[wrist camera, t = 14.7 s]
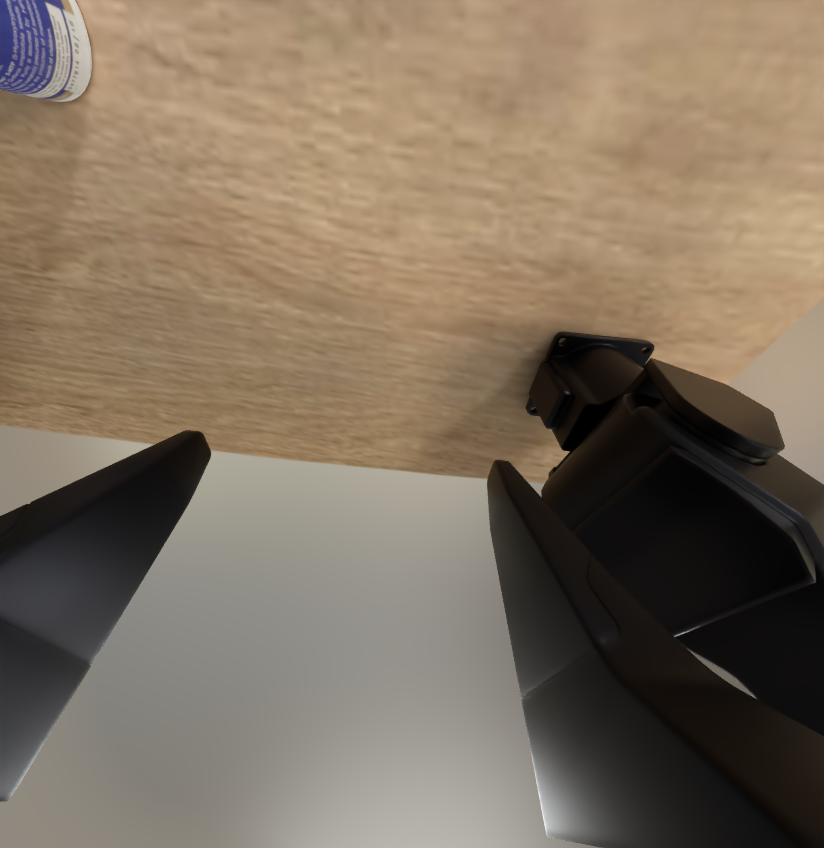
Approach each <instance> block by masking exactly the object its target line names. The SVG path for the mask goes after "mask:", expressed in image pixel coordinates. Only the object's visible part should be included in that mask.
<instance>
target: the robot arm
mask: <svg viewBox="0 0 824 848" xmlns="http://www.w3.org/2000/svg"><path fill="white" fill-rule="evenodd" d="M562 338H565V340H564V341H563V342H562V343H559V341H560V339H562ZM645 347H646V349H645V350H644V351H642V349H643V348H645ZM653 350H654V345H653V344H652V343H650V342H649V341H645V340H635V339H626V338H617V337H607V336H598V335H589V334H580V333H570V332H560V333H558V334H556V335H555V337H554V338H553V341H552V343H551V346H550V348H549V351H548V353H547V356H546V358H545V361H543V362H542V363H541V364H540V366H539V368H538V371H537V374H536V376H535V379H534V381H533V384H532V386H531V389H530V391H529V394H530V398H529V401H528V403H527V406H526V410H527V413H528V414H529V415H534V416H540V417H541V419H542V421H543V423H544V425H545V427H546V428H547V429H552V431H553V433H554V435H555V437H556V439H557V441H558V443H559V445H560V447H561V448H562V450H564V451H570V452H569V453H568V455H567V456H566V457H565V458H564V459H563V460H562V461H561V462H560V464H559V465H558V466H557V467H554V468H553V469H552V470H551V471H550V472H549V479H548V480H547V481H546V483H545V484H544V486H543V489H542V490H541V492H542V498H541V497H540V496H539V494H538V493H537V492H536V491H535V490H534V489H533V488H532V487H531V486H530V484H529V483H528V482H527V481H526V480H525V479H524V478H523V477H522V476H521V474H520V473H519V472H518V471H517V470H516V469H515V468H514V467H513V466H512V464H511V463H510V462H508V461H503V460H495V461H494V463H493V465H492V468H491V470H490V473H489V476H488V480H487V489H488V504H489V518H490V519H489V520H490V531H491V537H492V542H493V548H494V553H495V559H496V564H497V569H498V575H499V580H500V586H501V591H502V596H503V602H504V607H505V613H506V618H507V623H508V629H509V634H510V639H511V645H512V650H513V656H514V661H515V667H516V672H517V678H518V683H519V688H520V694H521V697H522V705H523V711H524V716H525V722H526V727H527V733H528V738H529V743H530V748H531V754H532V760H533V765H534V770H535V776H536V781H537V787H538V792H539V798H540V803H541V808H542V814H543V819H544V824H545V829H546V833H547V836H548V837H550V838H555V839H561V840H565V841H571V842H576V843H581V844H586V845H591V846H597V847H603V848H824V485H823V484H822V483H820V482H819V481H817V480H816V479H814V478H813V477H811V476H810V475H808V474H807V473H805V472H804V471H802V470H801V469H799V468H798V467H796V466H794V465H793V464H792V463H790V462H789V461H787V460H786V459H784V458H783V457H781V456H780V455H778V454H777V453H779V452H780V451H782V450H783V449H784V447H785V445H784V442H783V439H782V437H781V434H780V431H779V428H778V425H777V422H776V419H775V416H774V413H773V412H772V411H771V410H769V409H768V408H766V407H764V406H762V405H761V404H759V403H757V402H756V401H754V400H752V399H751V398H749V397H747V396H745V395H744V394H742V393H740V392H739V391H737V390H735V389H733V388H732V387H730V386H728V385H726V384H723V383H721V382H718V381H715V380H712V379H709V378H707V377H704V376H701V375H698V374H695V373H692V372H690V371H687V370H684V369H681V368H678V367H675V366H673V365H670V364H667V363H664V362H661V361H658V360H656V359H653V358H650V360H649V361H648V362H647V360H648V359H649V357H650V355H651V354H652V352H653ZM646 362H647V363H646ZM645 363H646V364H645ZM533 407H536V408H535V409H533V410H531V409H532V408H533ZM210 457H211V450H210V448H209V446H208V443H207V441H206V439H205V437H204V435H203V433H201V432H199V431H191V430H186V431H183V432H181V433H179V434H177V435H174V436H172V437H170V438H168V439H166V440H164V441H161V442H159V443H157V444H155V445H153V446H151V447H149V448H147V449H144V450H142V451H140V452H138V453H136V454H133V455H131V456H129V457H127V458H125V459H123V460H121V461H119V462H116V463H114V464H112V465H110V466H108V467H105V468H103V469H101V470H99V471H97V472H95V473H93V474H90V475H88V476H86V477H84V478H82V479H80V480H78V481H75V482H73V483H71V484H69V485H67V486H65V487H63V488H60V489H58V490H56V491H54V492H52V493H49V494H47V495H45V496H43V497H41V498H39V499H37V500H35V501H32V502H31V503H30V504H26V505H23V506H21V507H19V508H17V509H15V510H13V511H11V512H8V513H6V514H4V515H2V516H0V801H8V800H9V799H10V797H11V796H12V794H13V793H14V792H15V790H16V788H17V787H18V785H19V784H20V782H21V781H22V779H23V777H24V776H25V774H26V773H27V771H28V769H29V768H30V766H31V764H32V763H33V761H34V759H35V758H36V756H37V754H38V753H39V751H40V749H41V748H42V746H43V744H44V743H45V741H46V739H47V738H48V736H49V734H50V733H51V731H52V730H53V728H54V726H55V724H56V723H57V721H58V720H59V718H60V716H61V715H62V713H63V711H64V710H65V708H66V706H67V705H68V703H69V701H70V700H71V698H72V696H73V695H74V693H75V691H76V690H77V688H78V686H79V685H80V683H81V681H82V680H83V678H84V677H85V675H86V673H87V671H88V670H89V668H90V667H91V665H90V664H92V663H93V661H94V660H95V658H96V656H97V655H98V653H99V651H100V650H101V648H102V646H103V645H104V643H105V641H106V640H107V638H108V637H109V635H110V633H111V631H112V630H113V628H114V627H115V625H116V623H117V622H118V620H119V618H120V617H121V615H122V613H123V612H124V610H125V608H126V607H127V605H128V603H129V602H130V600H131V598H132V597H133V595H134V594H135V592H136V590H137V589H138V587H139V585H140V584H141V582H142V580H143V579H144V577H145V575H146V574H147V572H148V570H149V569H150V567H151V565H152V564H153V562H154V560H155V559H156V557H157V556H158V554H159V552H160V551H161V549H162V547H163V546H164V544H165V542H166V541H167V539H168V537H169V536H170V534H171V532H172V531H173V529H174V527H175V526H176V524H177V522H178V521H179V519H180V518H181V516H182V514H183V513H184V511H185V509H186V507H187V506H188V504H189V502H190V500H191V498H192V496H193V494H194V492H195V490H196V488H197V486H198V484H199V482H200V479H201V477H202V475H203V473H204V470H205V469H206V466H207V464H208V462H209V460H210ZM691 652H692V653H694V654H696V655H697V656H699V657H701V658H703V659H704V660H706V661H708V662H710V663H712V664H713V665H715V666H717V667H718V668H720V669H722V670H724V671H725V672H727V673H728V674H730V675H731V676H732V677H733V678H734V679H735V680H737V682H738V683H739V684H740V685H742V686H743V687H744V688H745V689H746V690H747V691H748V692H749V693H750V695H751V696H750V695H748V694H746V693H745V692H743V691H741V690H739V689H738V688H736V687H734V686H733V685H731V684H729V683H728V682H727V681H725V680H724V679H722V678H721V677H719V676H718V675H717V674H715V673H714V672H713V671H711V670H710V669H709V668H708V667H707V666H705V665H704V664H703V663H702V662H701V661H699V660H698V659H697V658H696V657H695V656H694V655H693V654H692V653H691Z"/></svg>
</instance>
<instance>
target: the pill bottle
mask: <svg viewBox="0 0 824 848" xmlns="http://www.w3.org/2000/svg"><path fill="white" fill-rule="evenodd" d="M91 70H92V55H91V47H90V42H89V38H88V33H87V30H86V27H85V23H84V21H83V18H82V15H81V12H80V10H79V8H78V5H77V3H76V1H75V0H0V89H1V90H5V91H10V92H14V93H18V94H22V95H26V96H31V97H35V98H39V99H44V100H50V101H56V102H65V101H71V100H73V99H76V98H77V97H79V96H80V95H81V94H82V93H83V92H84V91H85V89H86V87H87V85H88V83H89V80H90V76H91Z"/></svg>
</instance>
